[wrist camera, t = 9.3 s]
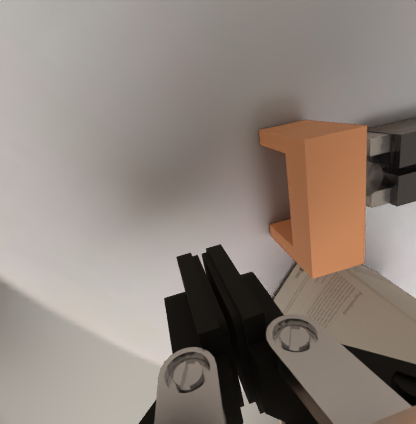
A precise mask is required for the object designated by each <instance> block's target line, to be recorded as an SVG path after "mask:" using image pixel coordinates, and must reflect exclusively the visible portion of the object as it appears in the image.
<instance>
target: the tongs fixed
mask: <svg viewBox="0 0 416 424" xmlns="http://www.w3.org/2000/svg"><path fill="white" fill-rule="evenodd" d="M366 160H369V161H373V162H377V163H381V164H385V165H389V166H393V167H397V168H401V167H405V166H409V165H413V164H416V118H412V119H407V120H403V121H399V122H394V123H390V124H386V125H381V126H377V127H373V128H369V129H367V155H366ZM369 161H366V196H369V195H371V194H373V193H374V192H376V191H377V189H378V188H379V187H380V185H381V183H382V180H383V171H382V168H381V167H380V166H379V165H378V164H376V163H373V162H369Z"/></svg>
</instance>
